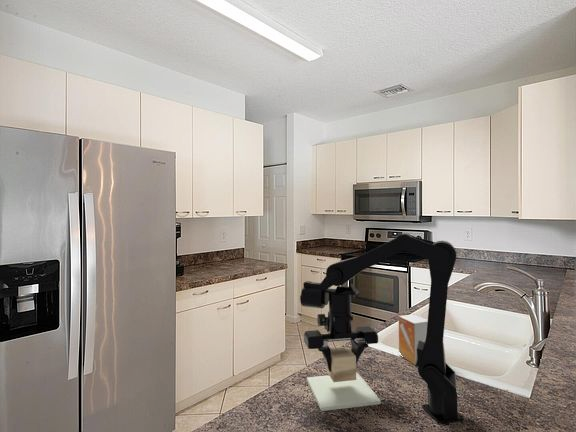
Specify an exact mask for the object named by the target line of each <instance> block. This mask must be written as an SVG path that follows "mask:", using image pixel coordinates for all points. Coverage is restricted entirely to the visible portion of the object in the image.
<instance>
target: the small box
mask: <svg viewBox="0 0 576 432" xmlns="http://www.w3.org/2000/svg"><path fill="white" fill-rule="evenodd" d="M427 323H428V319H426V318H424V317H421V316H419V315H416V314H405V315H398V353H399V352H400V353H401V355H402V356H403V357H404V359H405V360H406V361H408V362H410V363H411V364H412V365H414V366H415V363H416V359H417V346H418V341H422V342H425V339H426V334H427ZM402 356H401V357H402ZM403 357H402V358H403Z"/></svg>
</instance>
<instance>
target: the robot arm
mask: <svg viewBox="0 0 576 432" xmlns="http://www.w3.org/2000/svg"><path fill="white" fill-rule="evenodd" d="M403 252H407V253H410V254H412V255H415V256H417V257H420V258H422V259H425V260H427V261H428V269H429V274H430V291H429V300H428V301H429V302H428V312H427V314H428V315H427V320H428V323H427V334H426V339H425V342H422V341H418V346H417V359H416V363H415V365H414V366H415V368H417V372H418V376H419V377H420V378H421V379H422V380H423V381H424V382H425V383H426V385H427V404H422V407H421V408H422V409H423V410H425V411H426V412H427V414H428V415H429V416H430V417H431V418H433V420H434V421H436V423H438V424H443V423H444V424H445V423H451V422H452V423H453V422H457V421H458V422H459V421H464V420H465V416H463V415H462V414H461V413H460V412H459V411H458V410H459V409H458V392H457V390H458V389H457V377H456V376H457V375H456V372H455V370H454V369H452V367H450V366H449V364H448V363H447V361H446V351H445V345H444V335H445V334H444V333H445V324H446V312H447V311H446V310H447V299H448V289H449V283H450V279H451V276H452V274H453V270H454V267H455V264H456V261H457V252H456V249H455V247H454V245H453V244H452V243H450V242H449V241H447V240H438V241H433V240H428V239H425V238H421V237H419V236H418V237H417V236H414V235H411V234H409V233H407V232H406V233H402V234H399V235H398V236H397V237H395V238H393V239H391V240H389V241H387V242H385V243H383V244H381V245H378V246H377V247H375V248H373V249H370V250H369V251H368V250H367V251H366V252H365V253H363V254H361V255H358V256H354V257H351V258H347V259H346V258H345V259H343V260H339V261H336V262H335V263H332V264H330V265H329V266H328V267H327V268H326V271H325V277H324V278H323V280H322V281H321V282H316V281H315V282H314V281H313V282H312V281H309V280H306V281H304V282H303V285H302V286H303V287H302V289H301V293H300V296H299V300H300V301H299V302H300V305H301V306H302V307H306V308H312V309H313V308H315V309H324V308H325V306H328V311H327V312H328V313H327V316H326V314H325V313H318V314H317V320H316V321H317V326H318V327H323V328H324V330H326V332H327V333H323V334H322V332H321V331H319V330H318V329H315V330H314V329H313V330H306V331H304V333H303V342H304V344H305V345H306V347H307V349H309V350H318V351H319V352H321V353H322V356H323V359H324V361H325V365H326V369H327V368H328V370H329V372H331V350H330V349H331V348H330V346H329V343H328V342H340V341H350V346H351V349H350V350H351V351H352V353H353V354H354V355H355V356H356V365H357V364H358V361H359V360H360V357H361V355H362V354H363V352H364V350H365V349H366V348H369V345H373V344H378V343H379V335H378V332H376V331H375V330H374V329H373V328H371V327H370V326H369V325H367V326H365V325H364V326H357V327H356V329H355V331H352V321H353V320H354V316H353V315H352V296H356V295H357V294H358V293H359V292H360V291H359V289H358V288H357V287H355V286H354V284H353V283H351V284H349V285H348V286H343V285H344V284H346V283H347V282H349V281H350V280H351V279H353V278H355V277H356V276H357V275H359V274H360V273H362V272H363V271H364V270H366V269H368V268H370V267H373V266H374V265H376V264H379V263H381V262H383V261H386V260H387V259H388V260H389V258H392V257H394V256H396V255H398V254H400V253H403ZM333 286H334V287H336V288H331V287H333Z"/></svg>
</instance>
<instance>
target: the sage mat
mask: <svg viewBox="0 0 576 432" xmlns="http://www.w3.org/2000/svg"><path fill="white" fill-rule="evenodd" d="M306 382H307V384H308V386H309V388H310V390H311V392H312V394H313V397H314V399H315V401H316V403H317V406H318V407H319V409H320V412H325V411H326V412H327V411H334V410H343V409H351V408H360V407H365V406H366V407H368V406H375V405H381V404H382V401H381V399H380V398H379V397H378V396H377V394H376V393H375V391H373V390H372V388H371V387H370V386H369V384H368V383H367V382H366V380H364V378H363V377H362V376H361V375H360V374H359V372H357V371H356V380H351V381H342V382H333V380H332V379H331V377H330V376H329V374H328V375H318V376H309V377H306Z"/></svg>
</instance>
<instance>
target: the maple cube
mask: <svg viewBox="0 0 576 432" xmlns="http://www.w3.org/2000/svg"><path fill="white" fill-rule="evenodd" d="M330 350H331V372H329V370H328V368H327V367H326V373H327V374H328V375H329V376H330V377H331V379H332V380H333V382H342V381H351V380H356V372H357V364H356V356H355V355H354V354H353V353H352V351H351V349H350V348H349V346H348V347H336V348H335V347H334V348H330Z"/></svg>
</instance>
